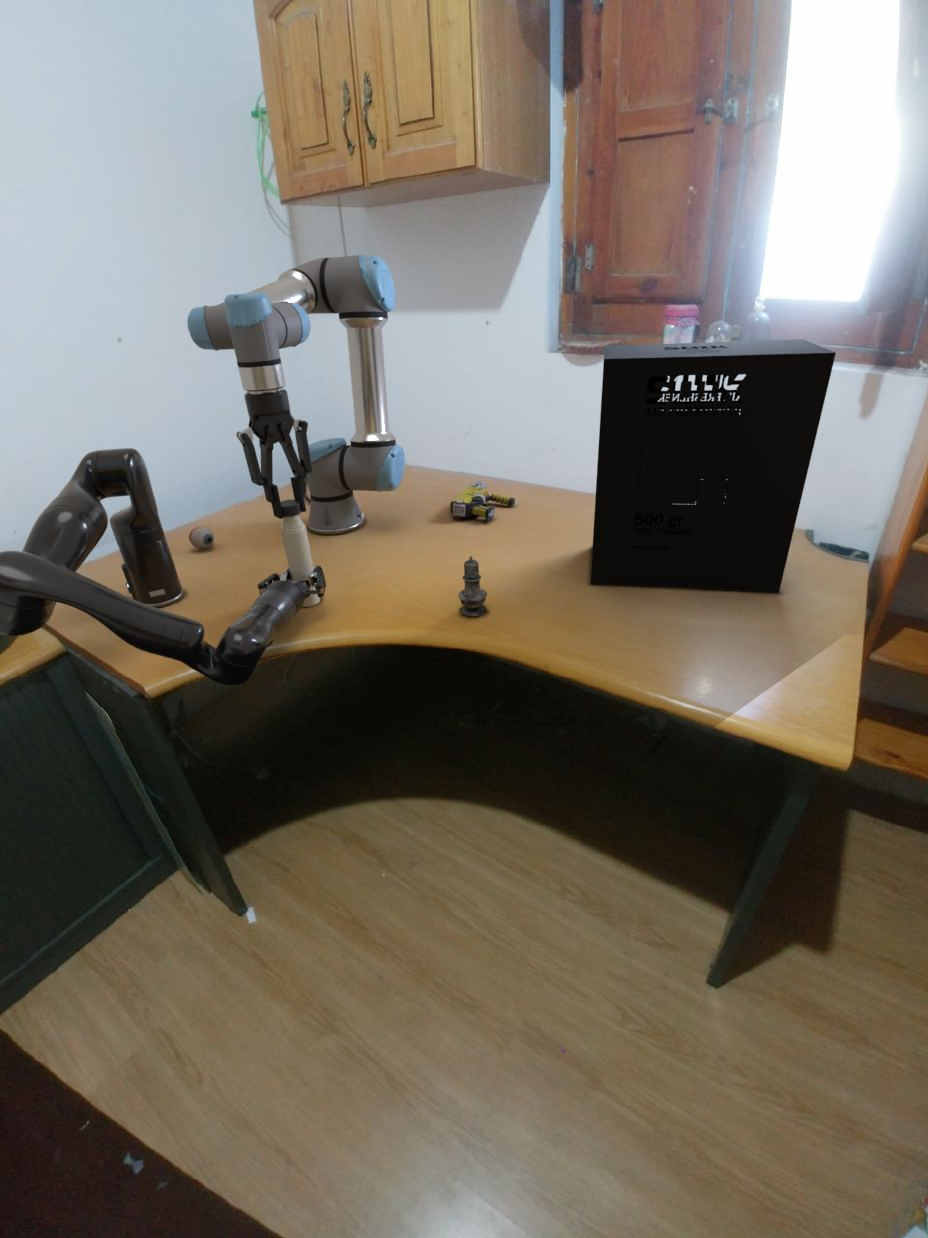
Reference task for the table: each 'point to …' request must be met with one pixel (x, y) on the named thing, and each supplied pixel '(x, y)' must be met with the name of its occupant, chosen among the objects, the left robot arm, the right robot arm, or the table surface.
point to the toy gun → (477, 502)
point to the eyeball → (201, 537)
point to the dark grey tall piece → (472, 590)
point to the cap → (290, 508)
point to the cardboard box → (704, 462)
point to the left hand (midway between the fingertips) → (307, 569)
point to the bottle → (298, 552)
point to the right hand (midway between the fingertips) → (290, 513)
